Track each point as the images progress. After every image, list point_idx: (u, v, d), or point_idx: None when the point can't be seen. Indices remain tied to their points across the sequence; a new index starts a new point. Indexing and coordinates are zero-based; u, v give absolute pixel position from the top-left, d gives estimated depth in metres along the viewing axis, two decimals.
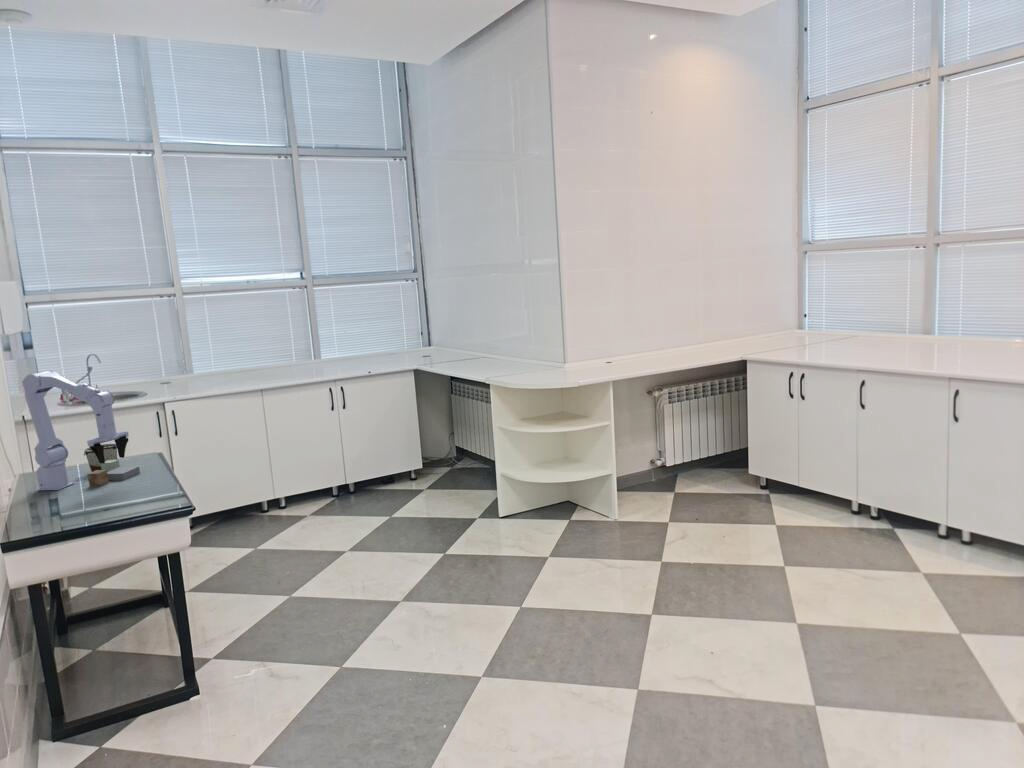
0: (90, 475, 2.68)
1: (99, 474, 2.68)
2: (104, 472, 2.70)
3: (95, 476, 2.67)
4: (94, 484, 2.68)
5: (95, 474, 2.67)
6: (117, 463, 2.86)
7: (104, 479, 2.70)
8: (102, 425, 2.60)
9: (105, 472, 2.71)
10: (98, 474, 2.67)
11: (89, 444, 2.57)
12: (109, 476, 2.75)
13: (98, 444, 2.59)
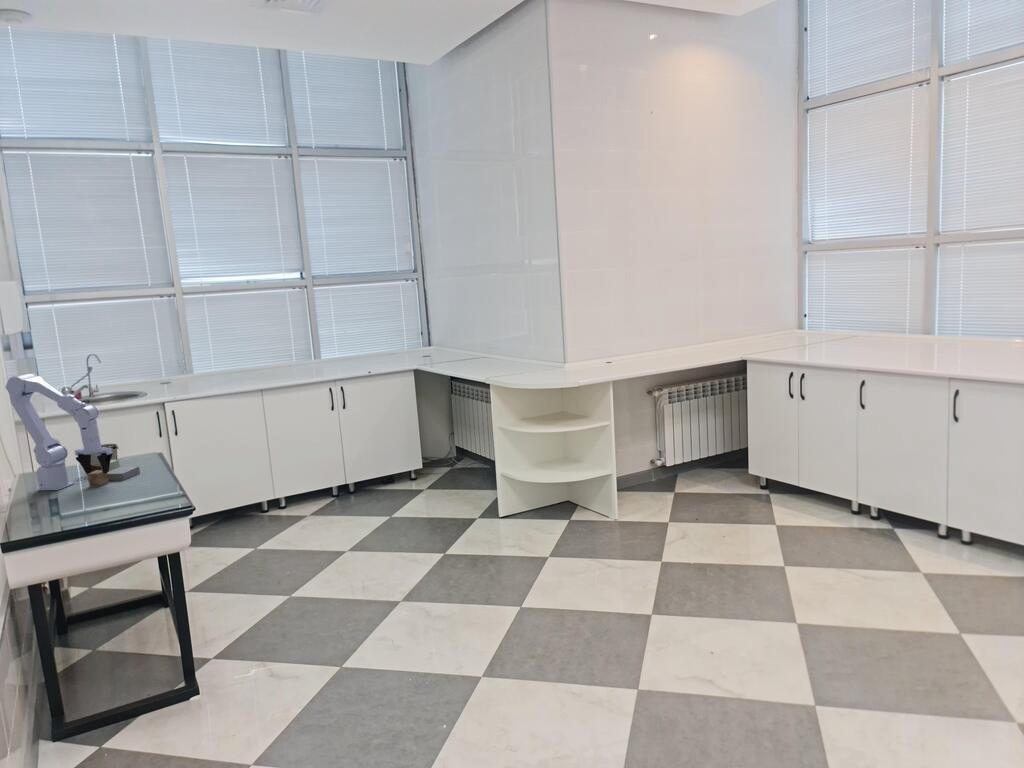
0: (90, 475, 2.68)
1: (99, 474, 2.68)
2: None
3: (95, 476, 2.67)
4: (94, 484, 2.68)
5: (95, 474, 2.67)
6: (117, 463, 2.86)
7: (104, 479, 2.70)
8: (88, 438, 2.65)
9: None
10: (98, 474, 2.67)
11: None
12: (109, 476, 2.75)
13: (81, 455, 2.68)
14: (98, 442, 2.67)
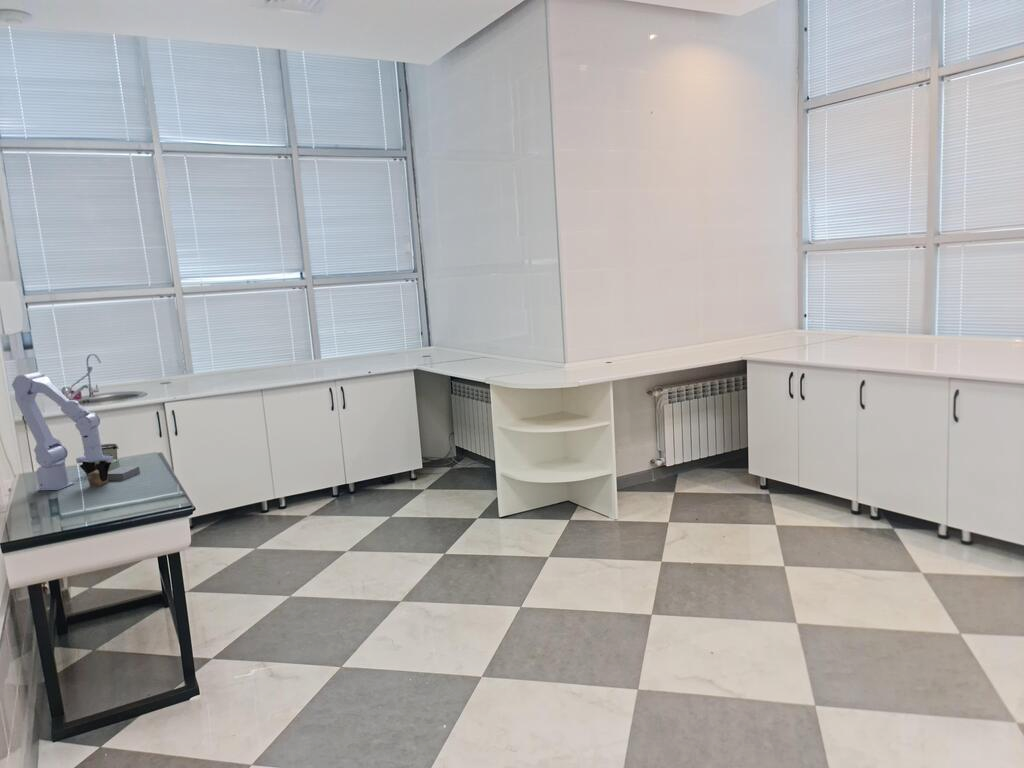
0: (90, 475, 2.68)
1: (99, 474, 2.68)
2: None
3: (95, 476, 2.67)
4: (94, 484, 2.68)
5: (95, 474, 2.67)
6: (117, 463, 2.86)
7: None
8: (89, 446, 2.65)
9: None
10: (98, 474, 2.67)
11: None
12: (109, 476, 2.75)
13: (83, 463, 2.69)
14: (99, 450, 2.68)
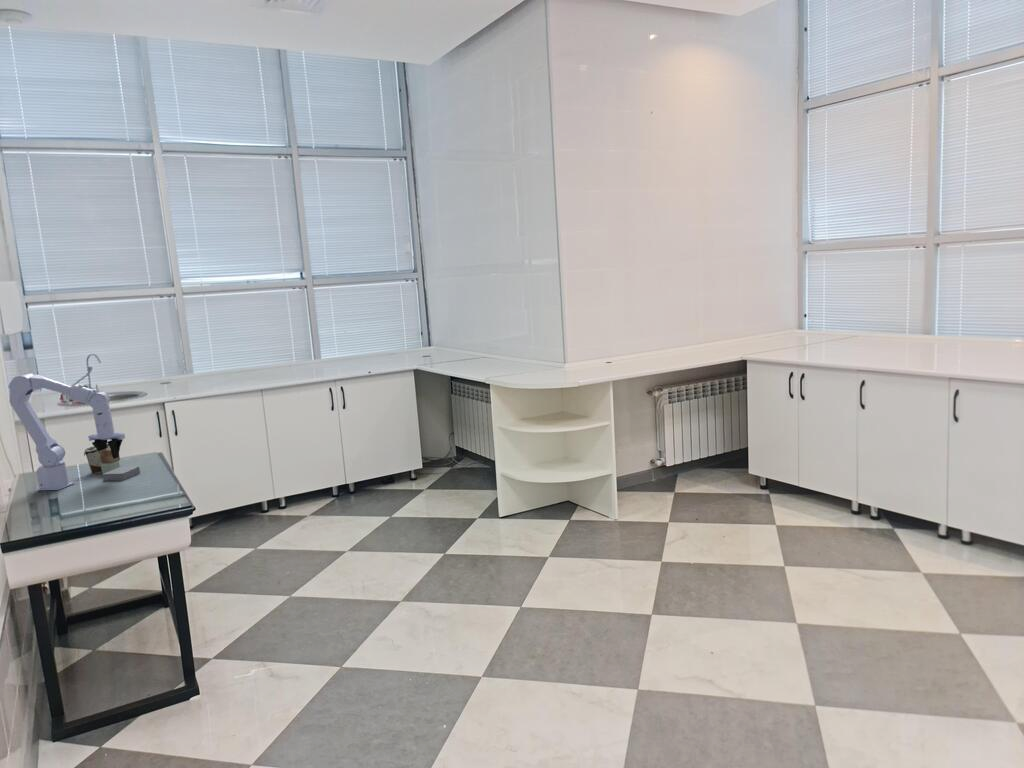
0: (102, 452, 2.72)
1: (110, 451, 2.72)
2: None
3: (106, 453, 2.71)
4: (106, 461, 2.72)
5: (106, 451, 2.71)
6: (117, 463, 2.86)
7: None
8: (104, 423, 2.70)
9: None
10: (109, 451, 2.71)
11: None
12: (109, 476, 2.75)
13: (95, 440, 2.73)
14: (111, 427, 2.72)
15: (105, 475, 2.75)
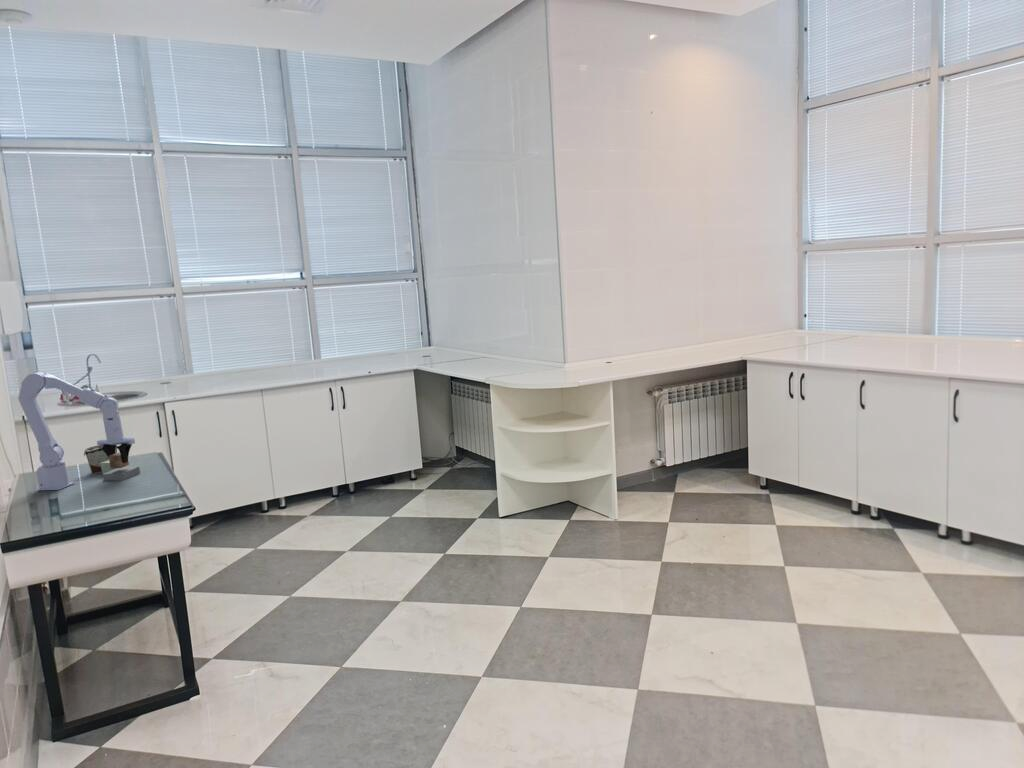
0: (111, 457, 2.75)
1: (120, 456, 2.76)
2: None
3: (116, 458, 2.75)
4: (115, 466, 2.76)
5: (116, 456, 2.75)
6: None
7: None
8: (114, 428, 2.74)
9: None
10: (119, 456, 2.75)
11: None
12: (109, 476, 2.75)
13: (104, 445, 2.77)
14: (121, 432, 2.76)
15: (105, 475, 2.75)
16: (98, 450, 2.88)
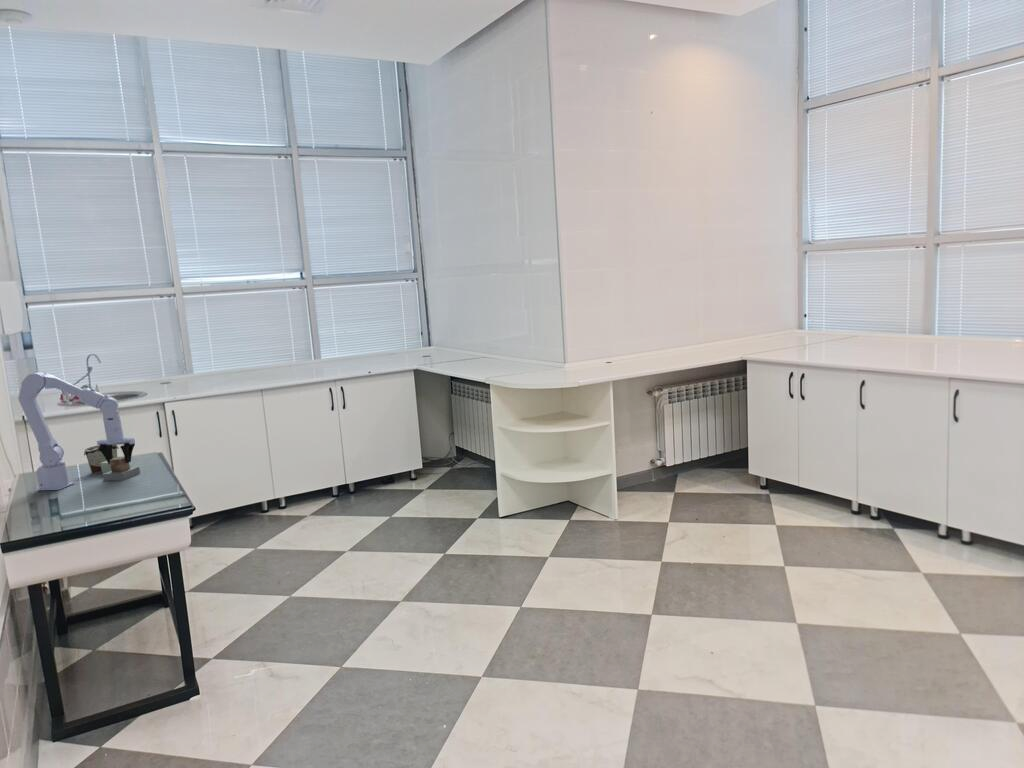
0: (112, 461, 2.76)
1: (121, 460, 2.76)
2: None
3: (117, 462, 2.75)
4: (116, 470, 2.76)
5: (117, 460, 2.75)
6: None
7: (126, 465, 2.78)
8: (114, 428, 2.74)
9: None
10: (120, 460, 2.76)
11: None
12: (109, 476, 2.75)
13: (104, 445, 2.77)
14: (121, 432, 2.76)
15: (105, 475, 2.75)
16: (98, 450, 2.88)
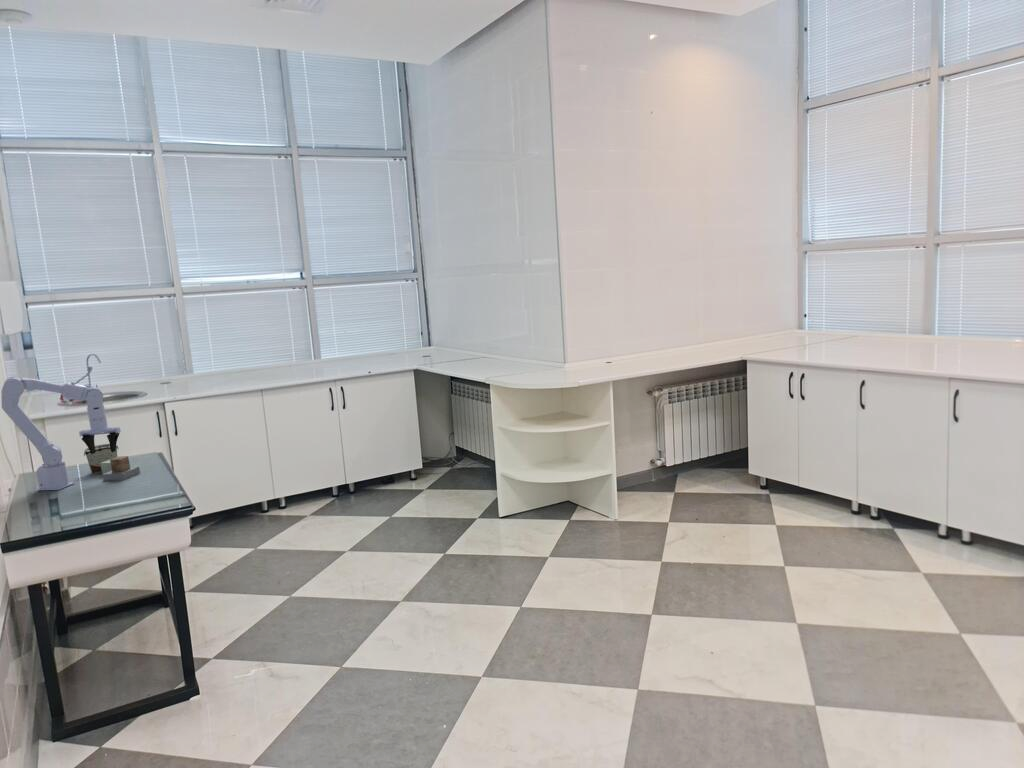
0: (113, 461, 2.76)
1: (122, 460, 2.76)
2: (126, 458, 2.79)
3: (118, 462, 2.76)
4: (117, 470, 2.76)
5: (118, 460, 2.75)
6: None
7: (126, 465, 2.78)
8: (100, 418, 2.74)
9: (127, 458, 2.79)
10: (121, 460, 2.76)
11: None
12: (109, 476, 2.75)
13: (87, 435, 2.76)
14: (106, 422, 2.77)
15: (105, 475, 2.75)
16: (98, 450, 2.88)
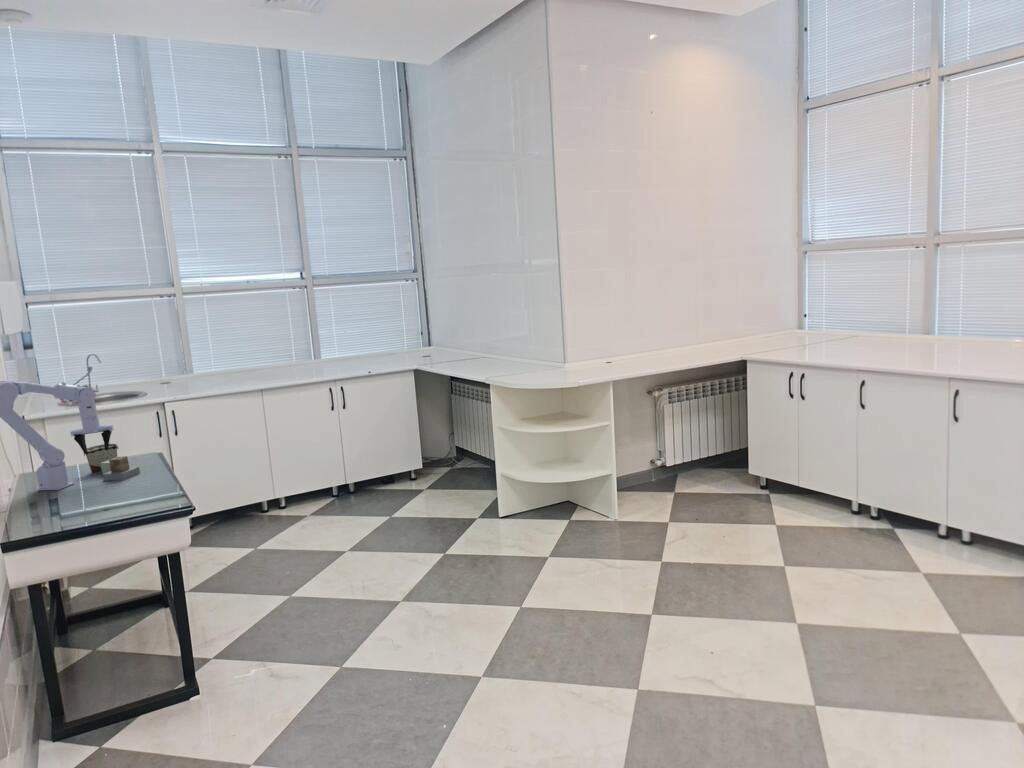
0: (112, 461, 2.76)
1: (121, 460, 2.76)
2: (125, 458, 2.78)
3: (117, 462, 2.76)
4: (116, 470, 2.76)
5: (117, 460, 2.75)
6: None
7: (125, 465, 2.78)
8: (93, 416, 2.76)
9: (126, 458, 2.79)
10: (120, 460, 2.76)
11: None
12: (109, 476, 2.75)
13: (79, 435, 2.76)
14: (98, 420, 2.78)
15: (105, 475, 2.75)
16: (98, 450, 2.88)
